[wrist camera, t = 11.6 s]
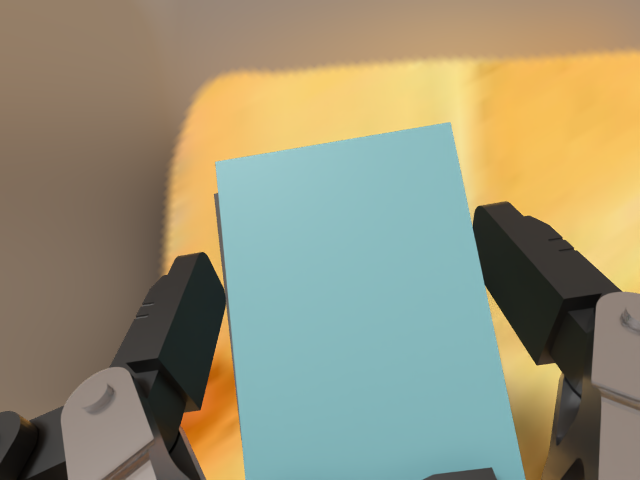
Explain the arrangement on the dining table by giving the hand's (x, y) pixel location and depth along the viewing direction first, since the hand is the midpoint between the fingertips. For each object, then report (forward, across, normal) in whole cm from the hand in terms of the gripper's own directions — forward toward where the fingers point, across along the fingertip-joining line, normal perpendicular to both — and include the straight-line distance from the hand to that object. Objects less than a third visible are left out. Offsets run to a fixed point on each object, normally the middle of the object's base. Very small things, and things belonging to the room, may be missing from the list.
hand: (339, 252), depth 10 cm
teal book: (+4, 0, +6) cm, 7 cm away
